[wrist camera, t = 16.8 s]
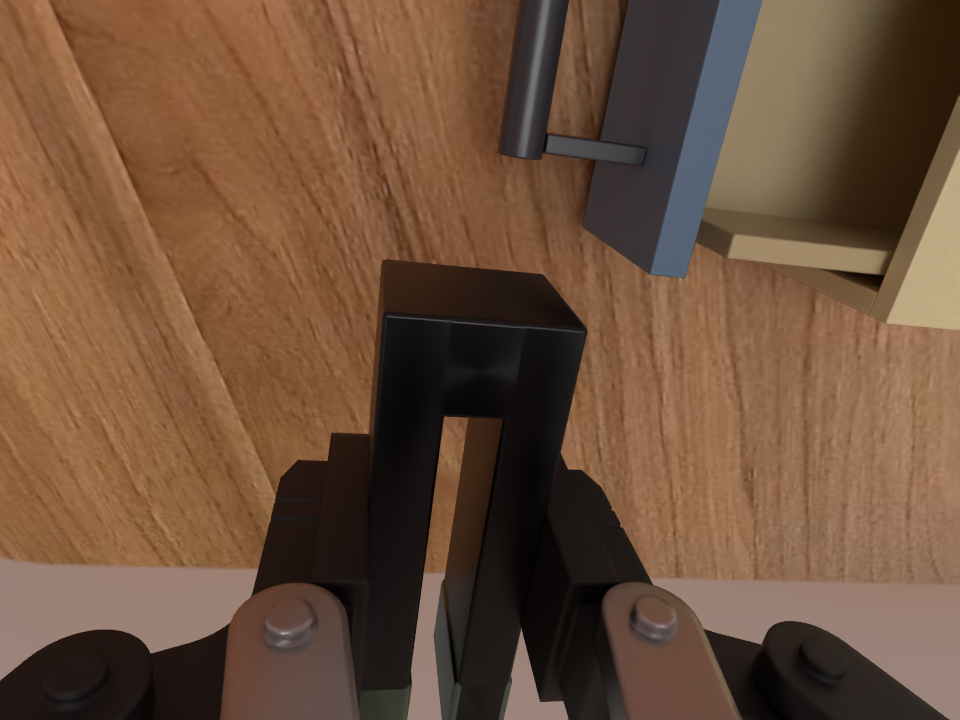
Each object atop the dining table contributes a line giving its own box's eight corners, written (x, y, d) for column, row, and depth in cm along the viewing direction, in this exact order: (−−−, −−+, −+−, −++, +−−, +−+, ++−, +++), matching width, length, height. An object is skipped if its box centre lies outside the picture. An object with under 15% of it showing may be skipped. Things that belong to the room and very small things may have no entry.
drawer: (467, 214, 24) (499, 260, 18) (519, -188, 19) (588, -313, 13) (905, 263, 28) (1054, 315, 22) (1041, -59, 23) (1281, -108, 17)
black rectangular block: (479, 634, 13) (499, 744, 11) (350, 637, 13) (344, 753, 11) (547, 273, 10) (593, 329, 8) (378, 257, 9) (378, 311, 7)
